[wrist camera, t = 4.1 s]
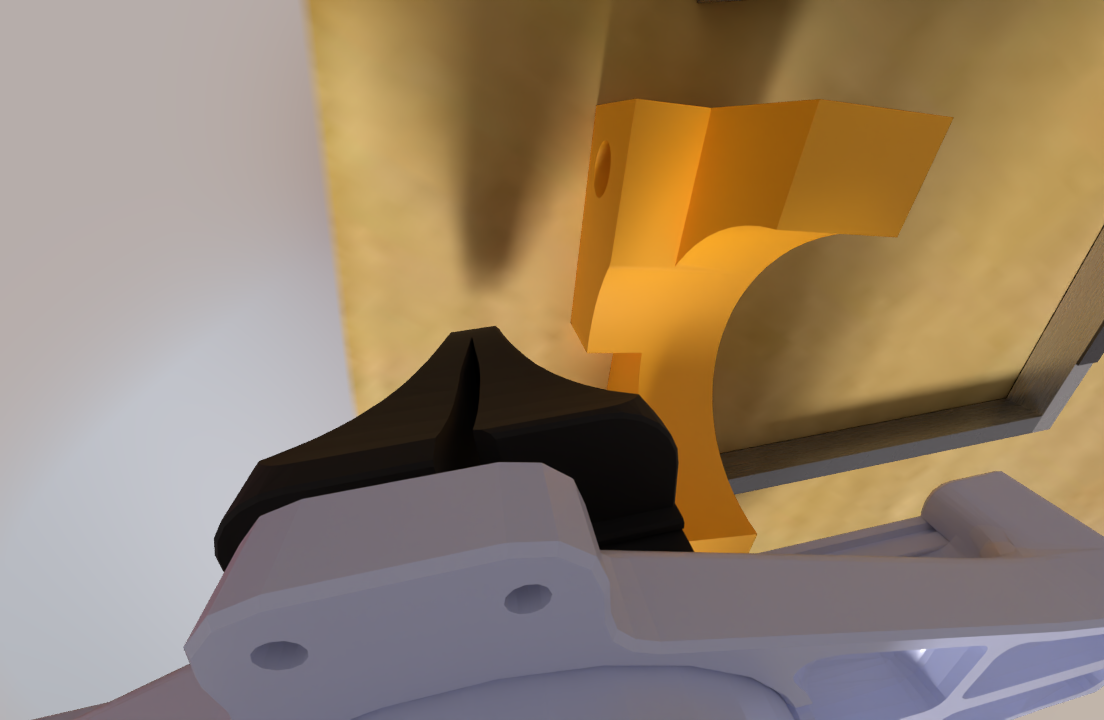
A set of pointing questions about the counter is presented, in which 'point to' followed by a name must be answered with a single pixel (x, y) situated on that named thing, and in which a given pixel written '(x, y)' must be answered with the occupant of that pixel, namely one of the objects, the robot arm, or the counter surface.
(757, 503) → the counter surface
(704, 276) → the pipe clamp
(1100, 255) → the frame
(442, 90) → the counter surface
